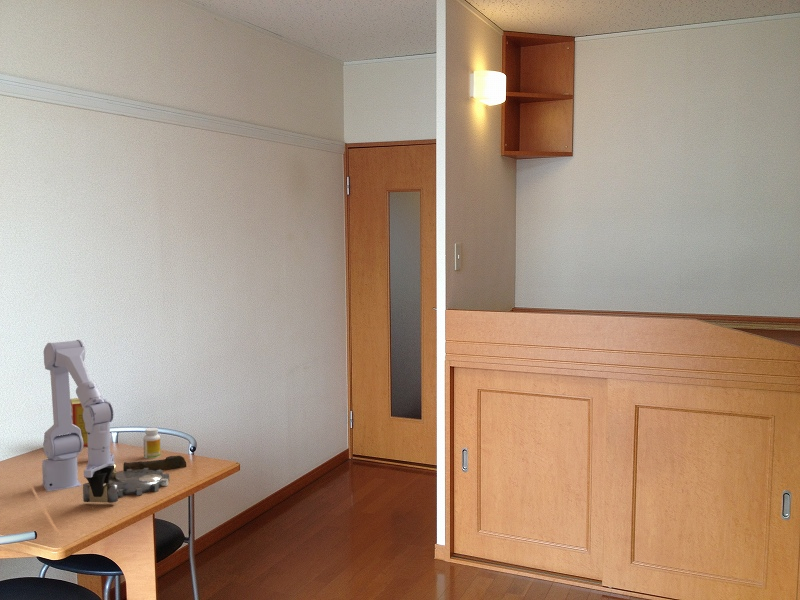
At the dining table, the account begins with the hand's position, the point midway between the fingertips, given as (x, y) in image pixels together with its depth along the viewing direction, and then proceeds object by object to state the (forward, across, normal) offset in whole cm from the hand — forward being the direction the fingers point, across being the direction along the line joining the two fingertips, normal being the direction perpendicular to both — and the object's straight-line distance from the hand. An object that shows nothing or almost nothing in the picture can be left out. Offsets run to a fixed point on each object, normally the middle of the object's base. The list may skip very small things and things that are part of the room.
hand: (100, 494), depth 206 cm
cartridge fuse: (+2, 0, 0) cm, 2 cm away
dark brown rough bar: (+4, +31, -4) cm, 32 cm away
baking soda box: (+4, +59, +33) cm, 68 cm away
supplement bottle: (+4, +45, +2) cm, 45 cm away
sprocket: (+3, +16, -3) cm, 17 cm away
